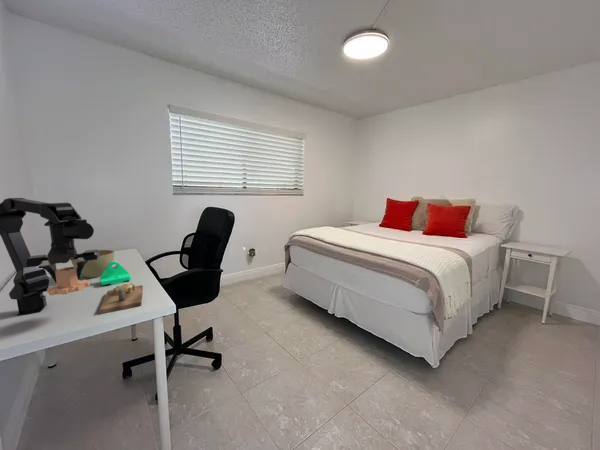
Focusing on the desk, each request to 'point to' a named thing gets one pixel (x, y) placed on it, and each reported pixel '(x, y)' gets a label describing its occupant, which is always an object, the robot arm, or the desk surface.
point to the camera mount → (114, 274)
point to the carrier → (122, 298)
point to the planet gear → (67, 282)
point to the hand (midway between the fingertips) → (68, 281)
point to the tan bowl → (96, 264)
